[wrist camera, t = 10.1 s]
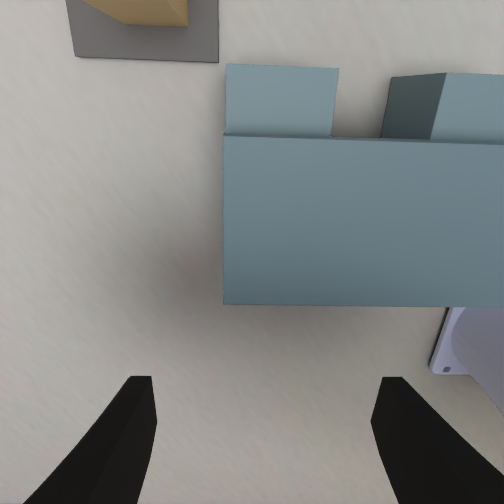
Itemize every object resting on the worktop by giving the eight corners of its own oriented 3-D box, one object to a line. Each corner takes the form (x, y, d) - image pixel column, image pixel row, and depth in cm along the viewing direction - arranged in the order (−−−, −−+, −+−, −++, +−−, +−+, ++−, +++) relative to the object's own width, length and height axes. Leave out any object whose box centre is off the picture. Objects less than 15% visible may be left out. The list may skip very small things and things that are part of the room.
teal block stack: (471, 80, 15) (611, 74, 9) (426, 241, 19) (507, 307, 13) (230, 70, 15) (222, 58, 9) (229, 237, 18) (223, 304, 13)
